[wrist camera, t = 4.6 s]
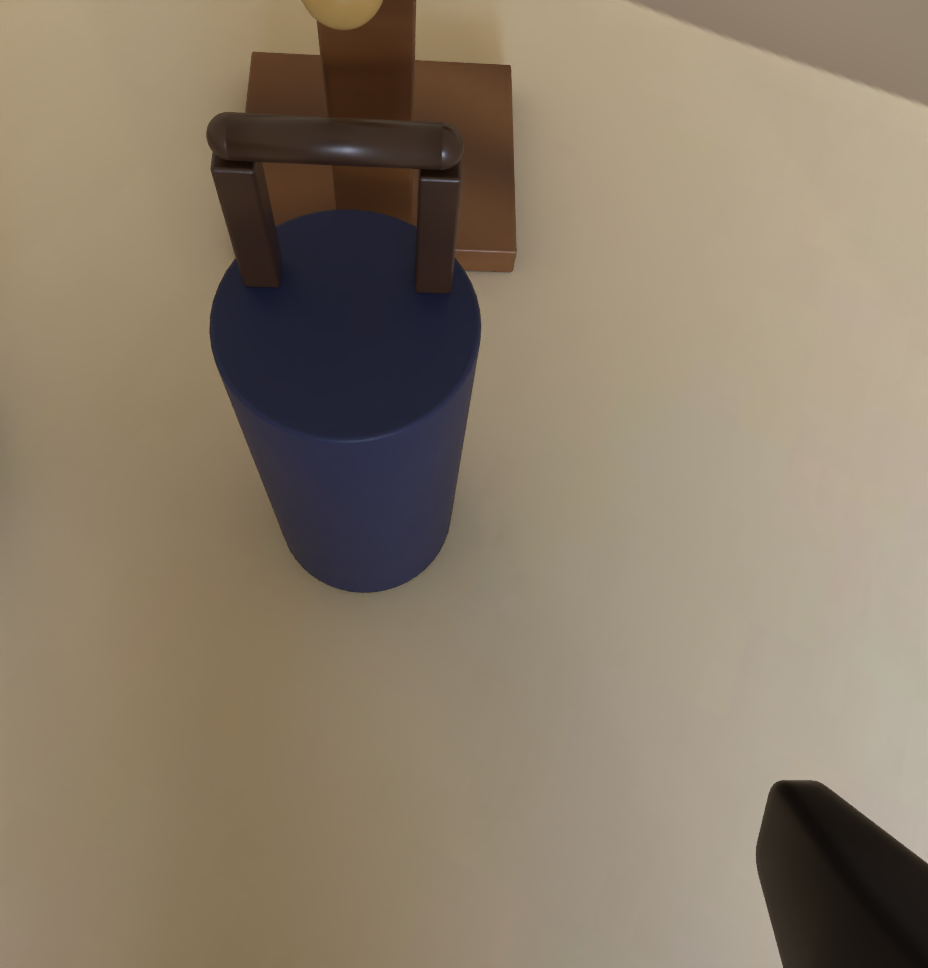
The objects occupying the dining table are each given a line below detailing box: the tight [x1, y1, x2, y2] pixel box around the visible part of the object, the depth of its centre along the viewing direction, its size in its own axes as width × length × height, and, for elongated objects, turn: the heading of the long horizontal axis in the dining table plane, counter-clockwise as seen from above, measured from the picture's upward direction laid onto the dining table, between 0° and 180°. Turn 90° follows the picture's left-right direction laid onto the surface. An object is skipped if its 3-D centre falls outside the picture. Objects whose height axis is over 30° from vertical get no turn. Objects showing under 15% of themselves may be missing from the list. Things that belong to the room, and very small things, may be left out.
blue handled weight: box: [206, 112, 481, 592], centre depth 17 cm, size 4×4×13 cm
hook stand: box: [245, 0, 517, 272], centre depth 19 cm, size 12×8×15 cm, turn 0°
